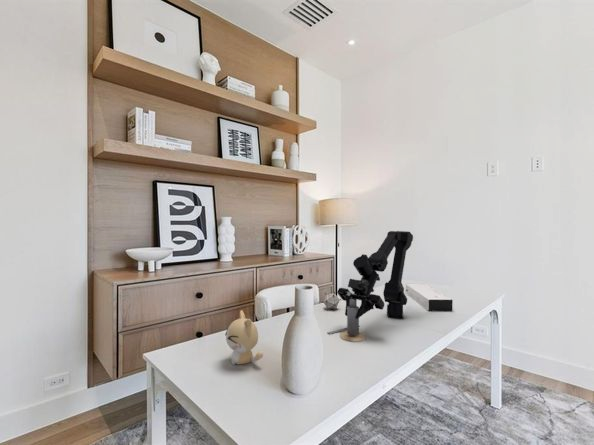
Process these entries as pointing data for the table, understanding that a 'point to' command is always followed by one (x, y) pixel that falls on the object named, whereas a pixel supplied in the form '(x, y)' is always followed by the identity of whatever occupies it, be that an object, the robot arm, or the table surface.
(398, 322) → the table surface
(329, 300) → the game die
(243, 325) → the kitten
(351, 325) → the grey stepped cylinder
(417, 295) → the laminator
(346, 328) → the felt line
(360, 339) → the cork coaster
